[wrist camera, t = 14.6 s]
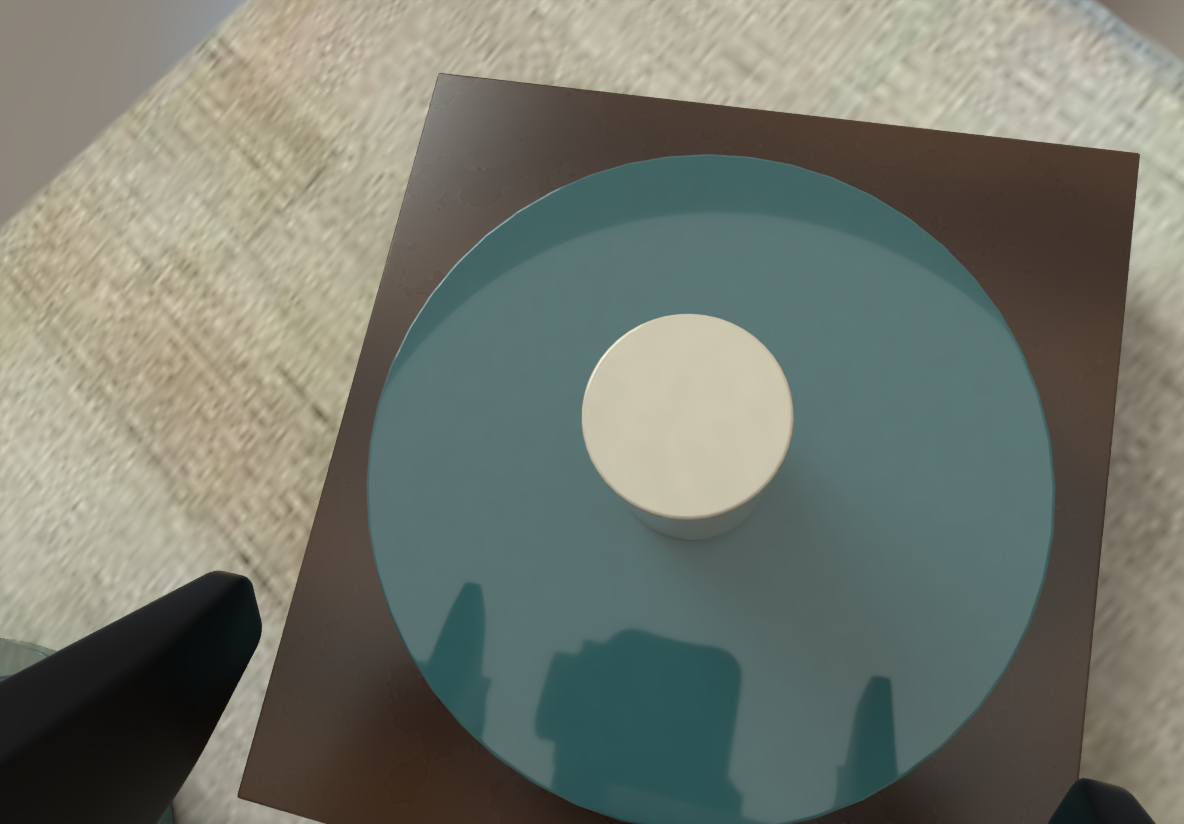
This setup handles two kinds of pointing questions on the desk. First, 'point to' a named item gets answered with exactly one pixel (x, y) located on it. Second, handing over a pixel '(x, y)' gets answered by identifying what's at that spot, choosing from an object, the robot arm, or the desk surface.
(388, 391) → the lid
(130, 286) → the desk surface
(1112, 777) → the desk surface
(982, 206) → the board
